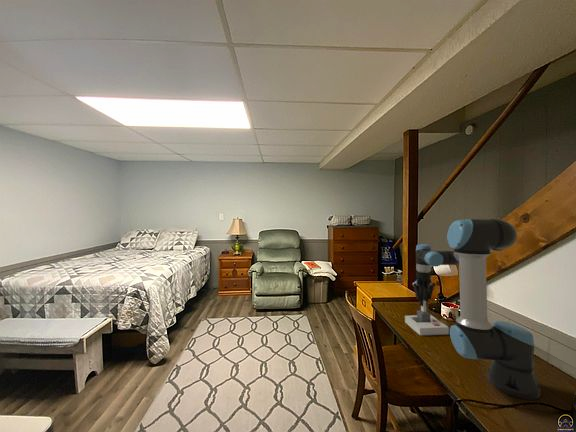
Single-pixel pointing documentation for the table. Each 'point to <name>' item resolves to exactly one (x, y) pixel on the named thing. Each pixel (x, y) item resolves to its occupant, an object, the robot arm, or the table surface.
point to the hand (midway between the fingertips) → (423, 311)
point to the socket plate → (427, 326)
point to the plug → (423, 316)
